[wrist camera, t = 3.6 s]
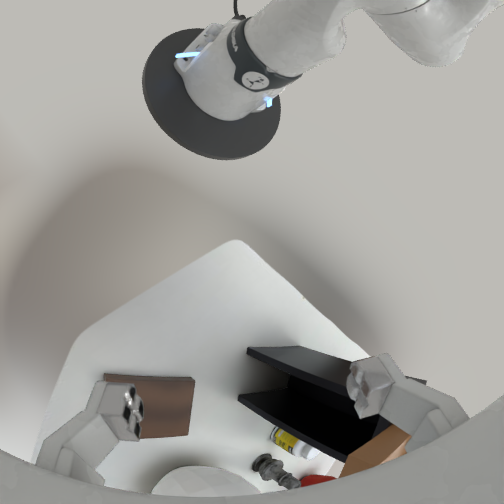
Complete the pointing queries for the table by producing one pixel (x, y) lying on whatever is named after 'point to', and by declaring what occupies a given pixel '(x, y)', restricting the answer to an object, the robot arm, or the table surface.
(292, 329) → the table surface
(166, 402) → the board
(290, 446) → the supplement bottle
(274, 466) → the dark grey tall piece
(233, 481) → the pitcher
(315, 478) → the apple
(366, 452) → the brown stepped block
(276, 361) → the tall black box
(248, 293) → the table surface
